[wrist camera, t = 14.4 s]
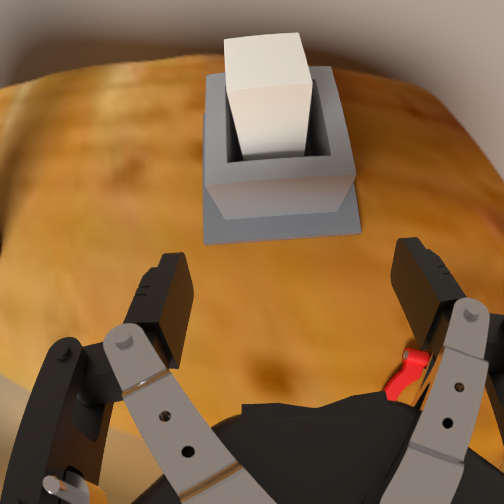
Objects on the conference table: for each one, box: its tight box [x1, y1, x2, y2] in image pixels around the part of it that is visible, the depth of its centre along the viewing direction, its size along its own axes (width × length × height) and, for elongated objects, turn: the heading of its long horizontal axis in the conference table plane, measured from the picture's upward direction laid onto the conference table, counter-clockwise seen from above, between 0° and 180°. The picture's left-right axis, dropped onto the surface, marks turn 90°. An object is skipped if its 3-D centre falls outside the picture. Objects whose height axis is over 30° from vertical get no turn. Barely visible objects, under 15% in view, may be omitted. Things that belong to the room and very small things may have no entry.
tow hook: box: [383, 348, 487, 401], centre depth 18 cm, size 8×13×9 cm
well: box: [203, 66, 361, 245], centre depth 25 cm, size 14×14×9 cm
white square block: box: [224, 33, 313, 161], centre depth 22 cm, size 4×4×14 cm
